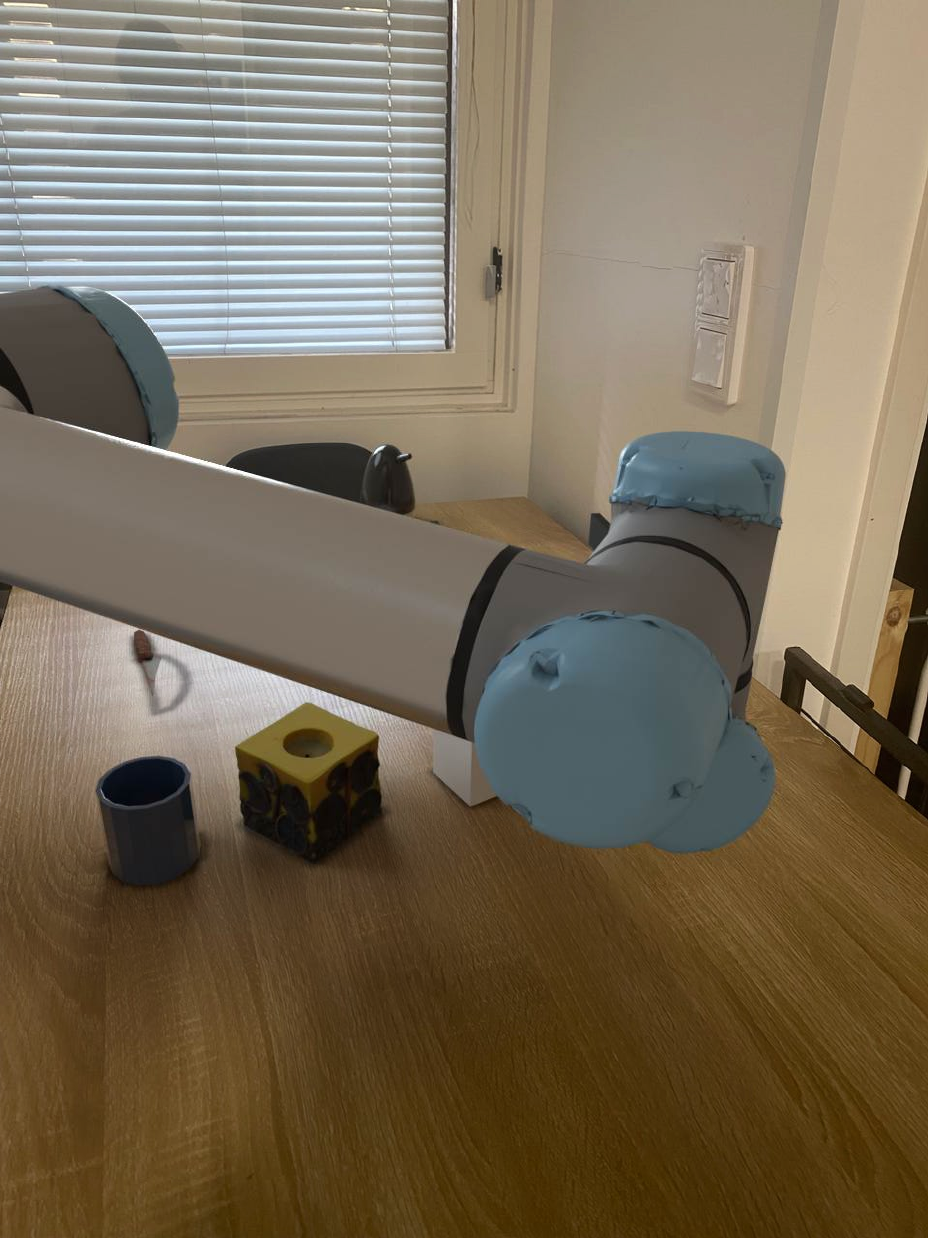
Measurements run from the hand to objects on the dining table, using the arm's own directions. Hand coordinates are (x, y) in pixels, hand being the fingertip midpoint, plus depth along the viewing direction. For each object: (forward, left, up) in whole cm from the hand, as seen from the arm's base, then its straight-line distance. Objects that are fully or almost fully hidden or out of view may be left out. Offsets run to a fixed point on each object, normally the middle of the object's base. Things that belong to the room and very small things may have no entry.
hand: (514, 532), depth 75 cm
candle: (-19, -2, -32) cm, 37 cm away
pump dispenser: (-38, +82, -32) cm, 96 cm away
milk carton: (-4, +9, -32) cm, 34 cm away
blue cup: (-31, -11, -32) cm, 46 cm away
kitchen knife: (-49, +21, -32) cm, 62 cm away
